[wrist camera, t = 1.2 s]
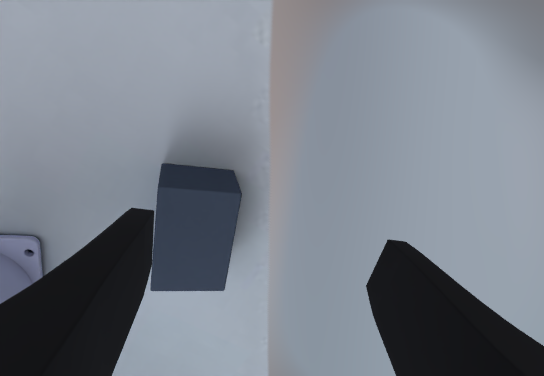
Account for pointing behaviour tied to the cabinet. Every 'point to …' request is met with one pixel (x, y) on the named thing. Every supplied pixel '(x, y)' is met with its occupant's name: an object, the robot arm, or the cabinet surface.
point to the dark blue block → (194, 228)
